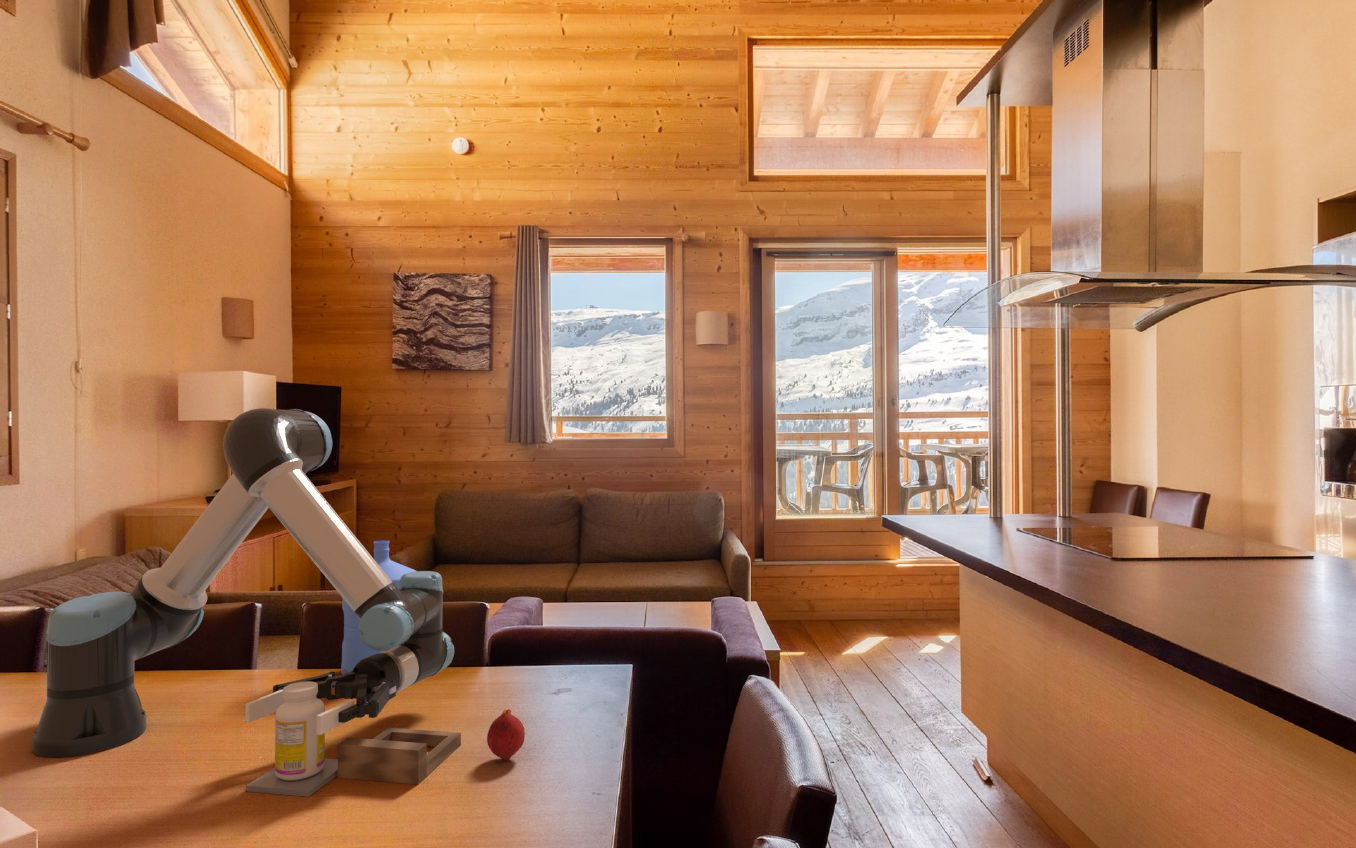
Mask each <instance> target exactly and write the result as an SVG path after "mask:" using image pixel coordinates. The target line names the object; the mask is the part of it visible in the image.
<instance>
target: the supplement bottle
mask: <svg viewBox="0 0 1356 848" xmlns="http://www.w3.org/2000/svg"><path fill="white" fill-rule="evenodd" d="M317 692H318V684H317V683H316V682H309V681H307V682H297V683H293V684H290V685H287V686H285V687H284V688H283V698H284V700H285V701H284V703H283V704H282V705H280V706H279V707H278V709H277V711H275V718H274V720H275V721H274V722H275V724H274V726H275V727H274V731H275V734H274V736H275V737H274V738H275V739H274V744H275V746H274V749H275V750H274V753H275V754H274V755H275V756H274V759H275V760H274V765H275V766H274V767H275V774H276V776H277V777H278V778H280V779H282V780H289V781H292V780H300V779H304V778H308V777H310V776H313V775H315V774H317V773H318V772H320V771H321V770H322V769H323V767H324V760H325V754H326V752H325V743H326V742H325V741H326V740H325V739H326V737H325V734H326V733H324V734H322V735H317V734H316V715H319V714H321V713H323V712H325V711H326V709H325V708H326V706H325V703H324V702H323V700H321V699H317V698H316V695H317Z"/></svg>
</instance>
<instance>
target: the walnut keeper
mask: <svg viewBox="0 0 1356 848" xmlns="http://www.w3.org/2000/svg"><path fill="white" fill-rule="evenodd" d="M461 745H462V733H461V732H454V731H439V730H428V729H425V730H424V729H413V728H401V727H400V728H399V727H397V728H396V727H387V728H386V729H384V730H383V731H382V732H380V733H379V734H378V735H376V736H375V737H374V738H372V739H371V738H358V737H347V738H345V739H344V740H342V741H339V742H338V743H337V759H338V775H337V779H349V780H361V781H371V782H383V783H396V784H407V785H416V786H417V785H419V784H420V783H421V782H423V781H424V780H425V779H426V778H427V777H428V776H429V775H430V774H431V773H432V772H434V771H435V770H436V769H437V768H438V767H439V766H440V765H441V764H442V763H443V762H444V761H446V759H447V758H449V756H451V755H452V754H453V753H454V752H455V751H456V750H458V749H459V747H460V746H461ZM427 746H431V748H432V749H431V750H430V751H429V752H428V747H427ZM432 746H433V747H432Z"/></svg>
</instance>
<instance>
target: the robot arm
mask: <svg viewBox="0 0 1356 848" xmlns="http://www.w3.org/2000/svg"><path fill="white" fill-rule="evenodd" d="M332 438H333V437H332V434H331V430H330V428H329V426H328V425H327V423H326V422H325V420H323V419H322V418H321V417H319V416H318V415H316V414H315V413H312V412H310V411H307V410H305V411H304V410H302V409H297V408H291V409H274V408H265V407H260V408H259V407H258V408H254V409H249V410H247V411H244V412H242V413H240V414H239V415H238V416H236V417H235V418H233V420H232V421H231V422H230V423H229V424H228V426H227V428H226V430H225V433H224V435H223V441H222V451H223V456H224V458H225V461H226V463H227V465H228V467H229V469H230V471H231V473H232V474H231V475H230V477H229V478H228V479H227V480H226V482H225V483H224V485H222V487H221V488H220V490H219V491H218V493H216V495H215V496H214V498H213V499H212V500H211V502H209V505H207V507H206V508H205V509H204V511H203V512H202V513H201V515H199V517H198V519H196V521H195V522H194V524H193V525H192V526H191V527H190V528H189V530H188V531H187V533H186V534H185V535H184V536H183V537H182V539H181V541H180V542H179V543H178V544H177V546H176V547H175V548H174V550H173V551H172V552H171V553H170V555H169V557H167V559H166V560H165V561H164V563H163V564H162V565H161V566H160V567H157V568H151V569H149V570H147V571H146V572H144V574H143V575H142V577H141V578H140V579H139V580H138V581H137V583H136V584H135V586H134V587H133V588H132V589H131V590H130V592H124V591H107V592H97V593H93V594H90V595H84V596H79V597H75V598H73V599H69V600H67V601H65V602H63V603H61V604H59V605H58V606H56V607H54V608H53V610H51V612H50V613H49V616H48V619H47V630H46V632H45V640H46V700H45V704H44V707H43V710H42V713H41V715H40V716H41V717H40V718H39V721H38V725H37V728H36V729H35V731H34V733H33V735H32V738H31V739H32V743H31V744H32V745H31V746H32V748H31V749H32V753H33V754H34V755H37V756H40V757H45V758H63V757H74V756H81V755H82V756H83V755H86V754H92V753H96V752H100V751H103V750H109V749H112V748H115V747H118V746H120V745H123V744H126V743H128V742H130V741H132V740H134V739H136V738H138V737H139V736H141V735H143V733H145V731H146V730H147V713H146V711H145V710H144V709H143V706H142V702H141V700H140V697H139V694H138V692H137V688H136V686H135V661H137V660H139V659H142V658H144V657H147V656H149V655H152V654H154V653H157V652H159V651H162V650H164V649H169V648H171V647H174V646H176V645H178V644H180V643H181V642H183V641H185V640H186V639H187V638H189V637H190V636H191V635H193V634H194V632H196V630H197V629H199V627H200V625H201V623H202V620H203V618H204V615H205V614H204V613H205V611H204V610H203V608H204V606H206V603H207V601H208V594H207V591H206V590H207V589H208V587H209V586H210V585H211V583H212V582H213V581H214V579H215V578H216V577H217V575H218V574H220V572H221V570H222V569H223V568H224V566H226V564H227V562H228V561H229V560H230V559H231V558H232V557H233V555H234V553H235V552H236V551H237V549H238V548H239V547H240V545H241V544H242V543H243V542H244V541H245V539H246V538H247V537H248V535H249V534H250V533H251V531H252V530H253V529H254V527H256V525H257V524H258V523H259V521H260V520H261V519H262V517H263V516H264V514H265V513H266V512H267V511H268V509H269V510H270V511H271V512H272V513H273V514H274V516H275V517H276V518H277V519H278V521H279V522H280V523H281V524H282V525H283V527H284V528H285V529H286V530H287V532H288V533H289V534H290V535H291V537H292V538H293V539H294V540H295V541H296V543H297V544H298V545H299V546H300V548H302V550H303V551H304V552H305V553H306V555H307V556H308V557H309V558H310V560H311V562H312V563H314V565H315V566H316V567H317V568H318V569H319V571H320V572H321V573H322V574H323V575H324V576H325V578H326V579H327V580H328V582H329V583H330V584H331V585H332V587H333V588H334V589H335V590H336V591H337V592H338V594H339V595H340V596H341V598H342V597H343V599H344V600H345V601H346V602H347V603H348V605H349V606H350V607H351V608H352V610H353V611H354V612H355V614H356V615H357V616H358V618H359V619H360V622H359V633H360V637H361V639H362V641H363V642H364V644H365V645H367V646H368V647H370V648H372V649H374V650H378V651H381V652H379V653H377V654H374V655H372V656H369V657H367V658H364V659H362V660H361V661H359V662H358V663H357V664H356V666H355V667H354V669H353V671H352V672H349V673H344V674H343V675H342V674H341V675H337V672H336V671H333V670H332V671H329V672H327V673H323V674H320V675H315V676H311V677H306V678H302V679H297V680H293V681H287V682H283V683H279V684H275V685H273V686H272V693H270V694H267V695H264V696H261V697H259V698H257V699H254V700H251V701H249V702H246V703H245V715H244V719H245V723H252V722H254V721H257V720H258V719H261V718H263V717H266V716H268V715H270V714H273V713H276V711H277V709H278V707H279V706H280V705H282V704H283V703H284V701H285V700H284V698H283V688H284V687H285V686H287V685H290V684H293V683H297V682H307V681H309V682H316V683H317V684H318V692H317V695H316V698H317V699H320V700H321V699H326V700H327V701H334V700H339V699H343V700H344V699H345V700H347V701H345V702H343V703H341V704H338V705H336V706H333V707H332V708H330V709H328V710H325V712H323V713H321V714H319V715H316V734H317V735H322V734H324V733H325V734H326V733H327V732H330V731H332V730H333V729H335V728H338V727H340V726H342V725H343V724H347V722H350V721H352V720H354V719H356V718H357V719H362V718H364V717H365V716H368V718H369V719H375V718H377V717H378V716H379V714H380V713H381V712H382V711H383V709H384V708H385V706H386V705H387V704H388V702H389V701H391V700H392V699H393V698H395V697H396V696H397V694H399V692H401V691H402V690H404V689H406V688H408V687H411V686H412V685H415V684H417V683H419V682H422V681H423V680H426V679H428V678H430V677H434V676H436V675H437V674H438V673H440V672H442V671H443V670H444V669H446V668H447V667H448V666H450V664H452V662H453V659H454V655H455V646H454V644H453V642H452V638H451V637H450V635H448V633H446V632H444V631H443V603H444V601H443V598H444V597H443V596H444V588H443V578H442V575H441V574H440V573H439V572H436V571H431V570H420V571H419V570H417V572H410V573H406V574H404V575H403V576H402V577H401V579H400V587H399V589H398V588H397V587H396V586H395V585H394V583H393V582H392V581H391V580H390V578H389V577H388V576H387V575H386V573H385V572H384V571H383V570H382V569H381V567H380V566H379V565H378V564H377V562H376V561H375V560H374V556H372V555H371V554H370V552H369V551H368V550H367V549H366V547H365V546H364V545H363V544H362V543H361V541H360V540H359V539H358V538H357V537H356V535H355V534H354V533H353V531H351V529H350V528H349V527H348V526H347V524H346V523H345V521H344V520H343V519H342V518H341V517H340V516H339V514H338V513H337V512H336V510H334V508H333V507H332V506H331V504H330V503H329V502H328V501H327V500H326V498H325V497H324V495H323V494H322V493H321V492H320V491H319V489H318V488H317V487H316V486H315V485H314V483H313V482H312V481H311V479H309V477H308V476H307V475H306V474H307V473H308V472H312V471H315V470H317V469H318V468H319V467H321V466H323V465H324V464H325V463H326V462H327V461H328V459H329V458H330V455H331V453H332V450H333V449H332V448H333V439H332ZM333 689H334V693H332V690H333ZM348 699H349V700H348ZM353 699H354V700H353Z"/></svg>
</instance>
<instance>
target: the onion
mask: <svg viewBox="0 0 1356 848" xmlns="http://www.w3.org/2000/svg"><path fill="white" fill-rule="evenodd" d="M525 735H526V731H525V726H524V724H523V722H522V721H521V720H520V719H519V718H518V717H516V716H515V715H513V714H512V709H510V708H509V707H506V708H505V709H503V711H502V713H501V714H500V716H498V717H496V718H495V719H494V720H493V721H492V722H491V724H490V726H489V728H488V731H487V736H486V742H487V746H488V747H489V749H490V752H491V753H492V754H494V755H495V756H496V757H498V758H500V759H502V760H503V761H508V760H510V759H511V758H512V757H513V756H514V755H515V754H516V753H518V751H520V749H522V747H523V744H524V743H525V738H526V736H525Z"/></svg>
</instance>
